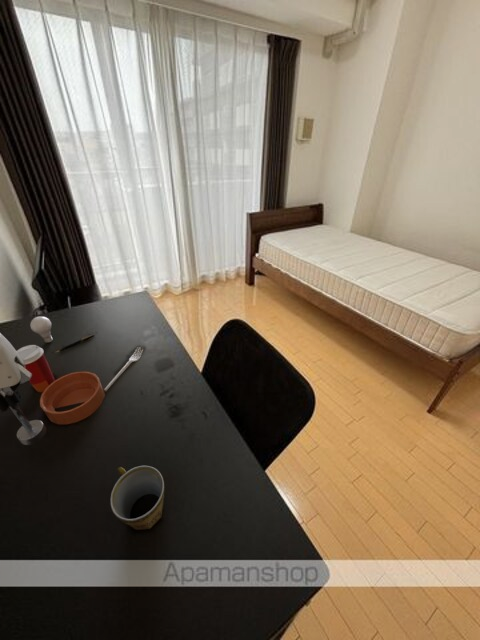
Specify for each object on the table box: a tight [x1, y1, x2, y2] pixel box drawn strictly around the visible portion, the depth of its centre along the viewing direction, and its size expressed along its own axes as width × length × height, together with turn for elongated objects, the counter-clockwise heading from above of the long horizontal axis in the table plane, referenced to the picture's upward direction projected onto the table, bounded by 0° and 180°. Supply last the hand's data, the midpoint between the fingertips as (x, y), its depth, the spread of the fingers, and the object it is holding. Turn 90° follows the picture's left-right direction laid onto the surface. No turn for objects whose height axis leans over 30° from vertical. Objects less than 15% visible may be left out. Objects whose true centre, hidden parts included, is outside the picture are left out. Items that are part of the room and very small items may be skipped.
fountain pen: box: [55, 334, 95, 353], centre depth 106 cm, size 14×1×2 cm, turn 135°
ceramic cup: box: [109, 465, 165, 531], centre depth 58 cm, size 13×10×10 cm
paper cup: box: [16, 344, 56, 393], centre depth 86 cm, size 8×8×14 cm
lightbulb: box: [29, 315, 54, 343], centre depth 104 cm, size 6×6×11 cm
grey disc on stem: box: [0, 388, 47, 446], centre depth 59 cm, size 5×5×16 cm
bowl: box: [39, 371, 106, 425], centre depth 82 cm, size 15×15×6 cm
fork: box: [103, 346, 144, 392], centre depth 95 cm, size 3×20×2 cm, turn 163°
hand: (12, 404), depth 58 cm, fingers closed on grey disc on stem, 1 cm apart
